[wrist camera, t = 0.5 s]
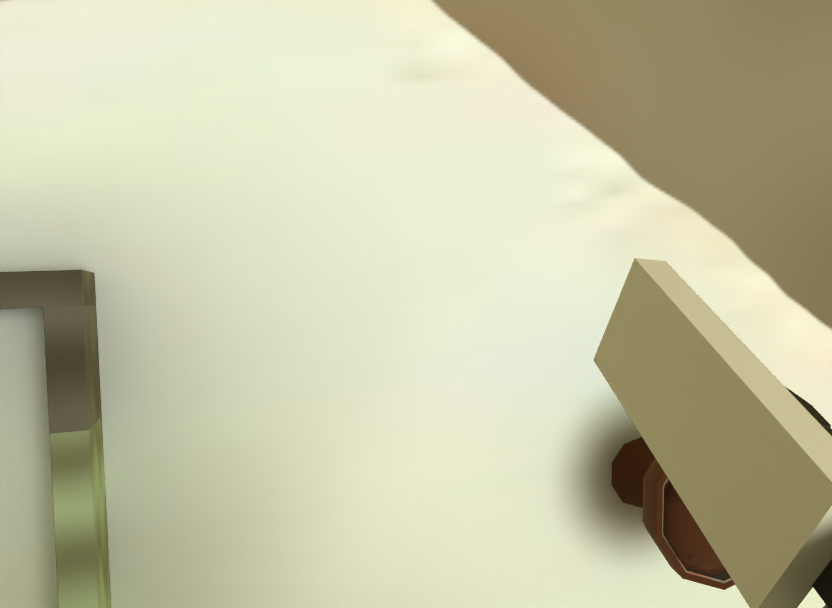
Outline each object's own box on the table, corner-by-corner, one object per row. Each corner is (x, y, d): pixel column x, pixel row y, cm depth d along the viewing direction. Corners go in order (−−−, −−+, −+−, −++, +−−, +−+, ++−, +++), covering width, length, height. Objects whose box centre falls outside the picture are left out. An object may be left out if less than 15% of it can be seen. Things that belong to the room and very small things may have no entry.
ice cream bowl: (580, 548, 54) (715, 637, 40) (582, 403, 54) (719, 440, 40) (696, 537, 57) (861, 617, 43) (699, 400, 57) (865, 433, 43)
